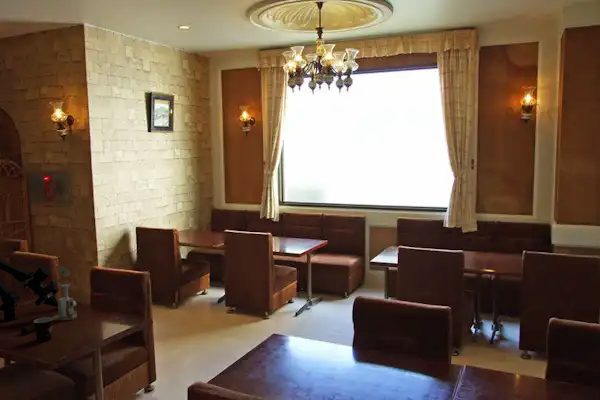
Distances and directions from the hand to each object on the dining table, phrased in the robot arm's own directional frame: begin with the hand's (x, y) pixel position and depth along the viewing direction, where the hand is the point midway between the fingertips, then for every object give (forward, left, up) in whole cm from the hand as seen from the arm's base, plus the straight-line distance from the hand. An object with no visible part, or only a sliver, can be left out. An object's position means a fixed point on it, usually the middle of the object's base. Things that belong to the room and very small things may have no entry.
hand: (58, 306), depth 281 cm
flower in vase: (-16, +14, -7) cm, 23 cm away
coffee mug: (+25, -22, -7) cm, 34 cm away
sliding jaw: (+1, +1, -5) cm, 6 cm away
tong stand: (+2, +1, -7) cm, 7 cm away
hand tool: (+6, -16, -7) cm, 18 cm away
